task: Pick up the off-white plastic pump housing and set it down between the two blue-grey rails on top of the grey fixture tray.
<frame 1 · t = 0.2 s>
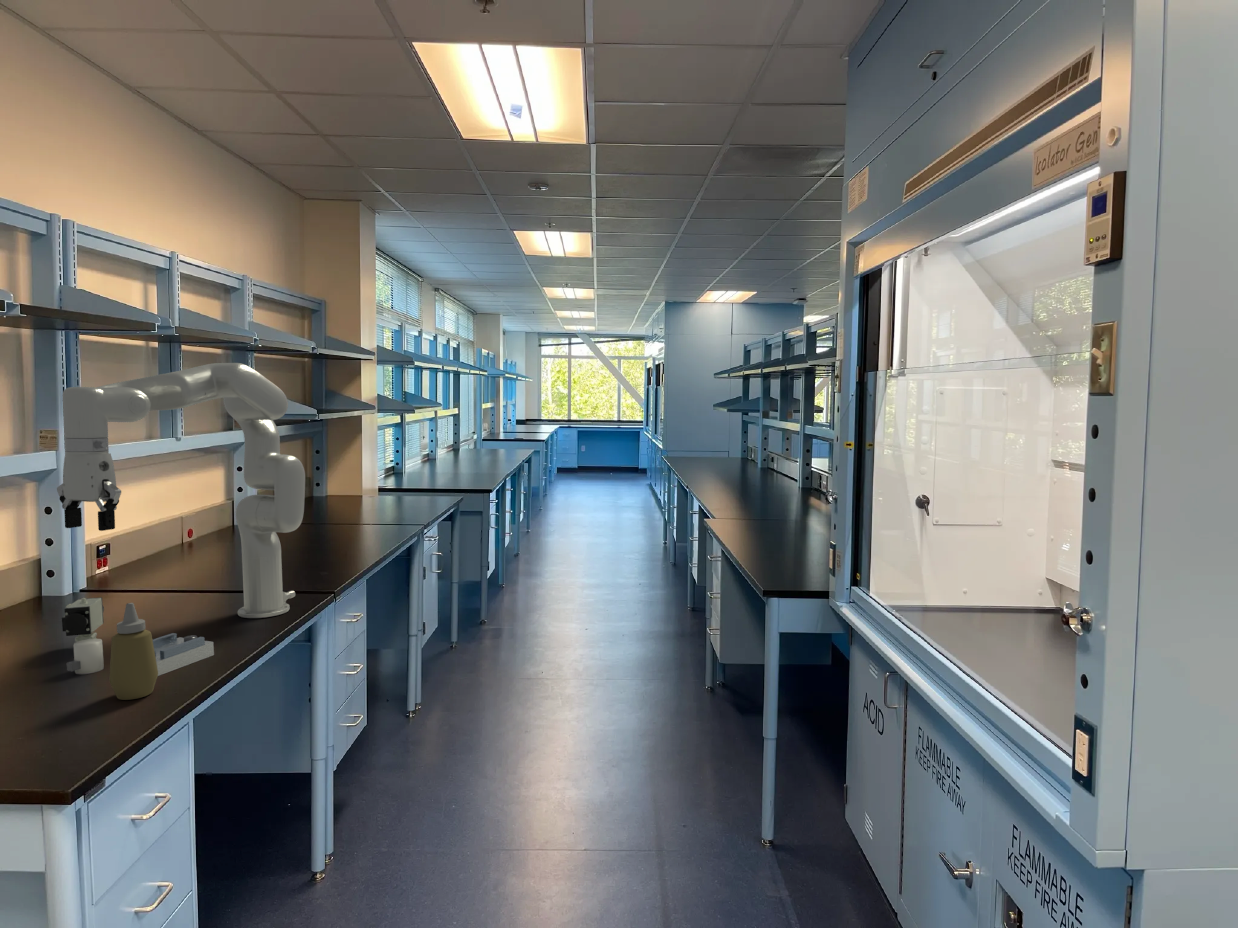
hand: (90, 528, 161), 30 cm above the table, tool pointing down, fingers open, 9 cm apart
drain pump: (89, 669, 163), on the table
grey fixture tray: (169, 662, 168), on the table
squeeze bottle: (135, 695, 149), on the table
pneumatic valve: (84, 650, 176), on the table
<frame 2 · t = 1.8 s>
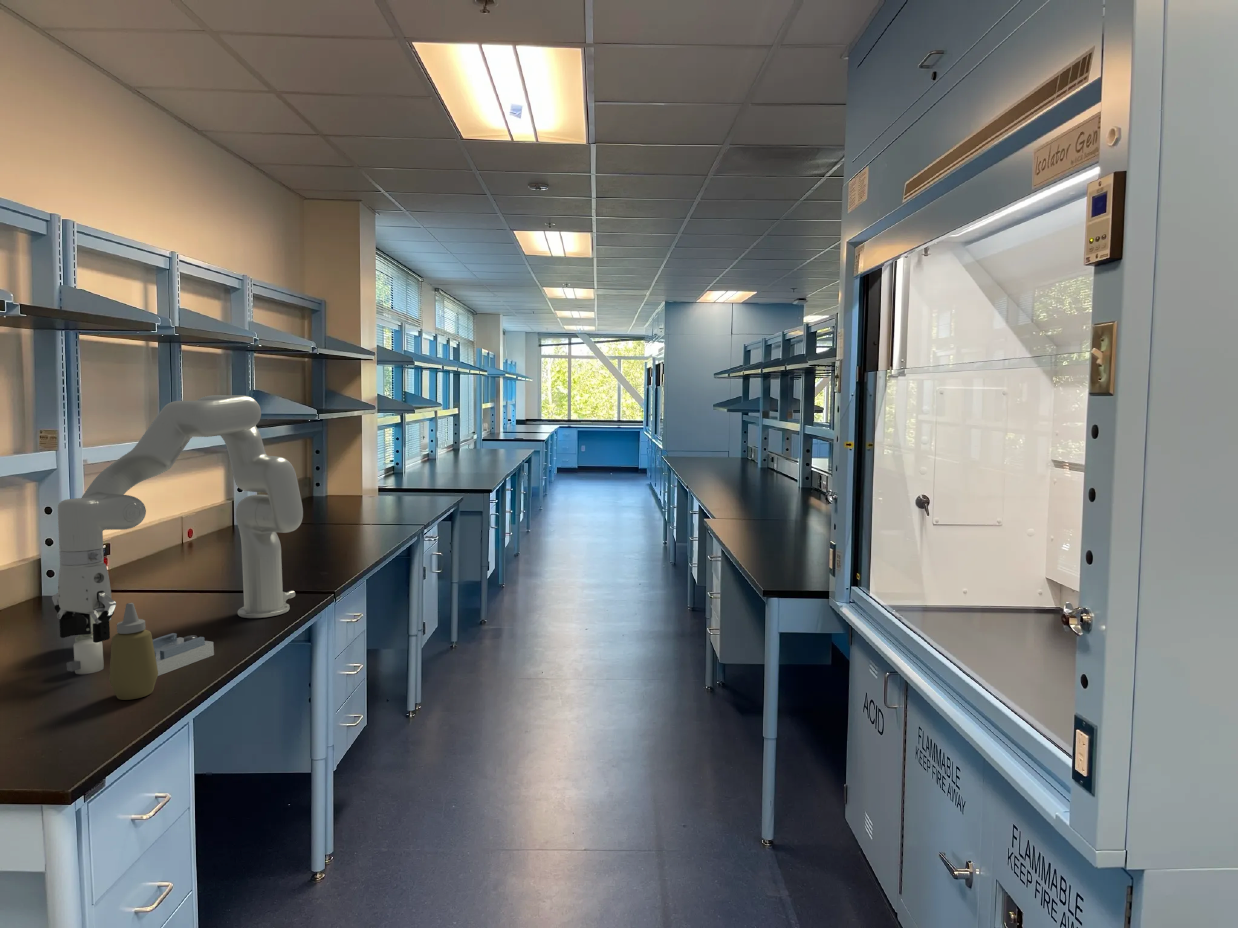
hand: (85, 638, 162), 7 cm above the table, tool pointing down, fingers open, 9 cm apart
nothing on the table moved.
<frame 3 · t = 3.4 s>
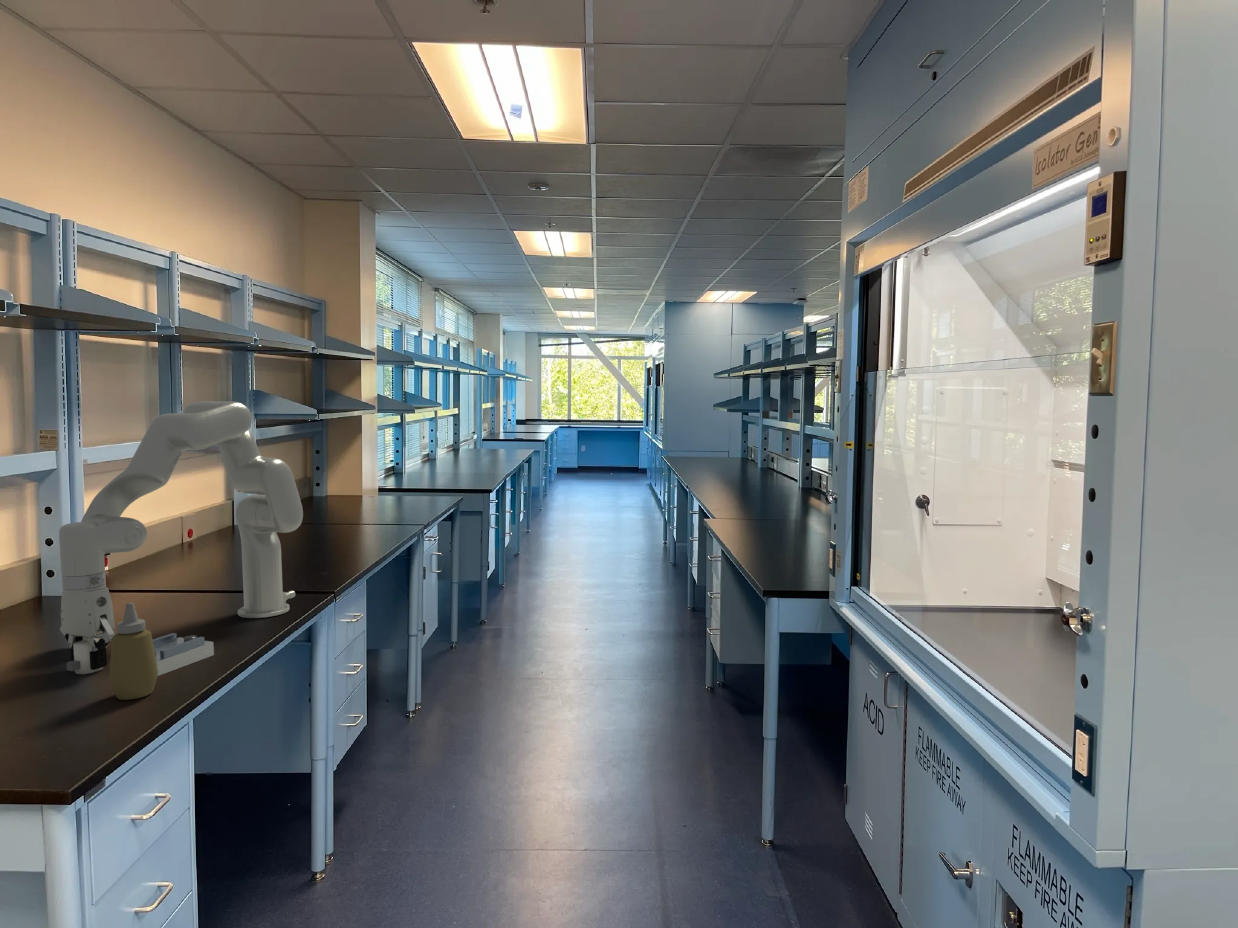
hand: (89, 665, 163), 1 cm above the table, tool pointing down, fingers closed on drain pump, 5 cm apart
drain pump: (89, 669, 163), on the table, touching gripper
everything else where it was.
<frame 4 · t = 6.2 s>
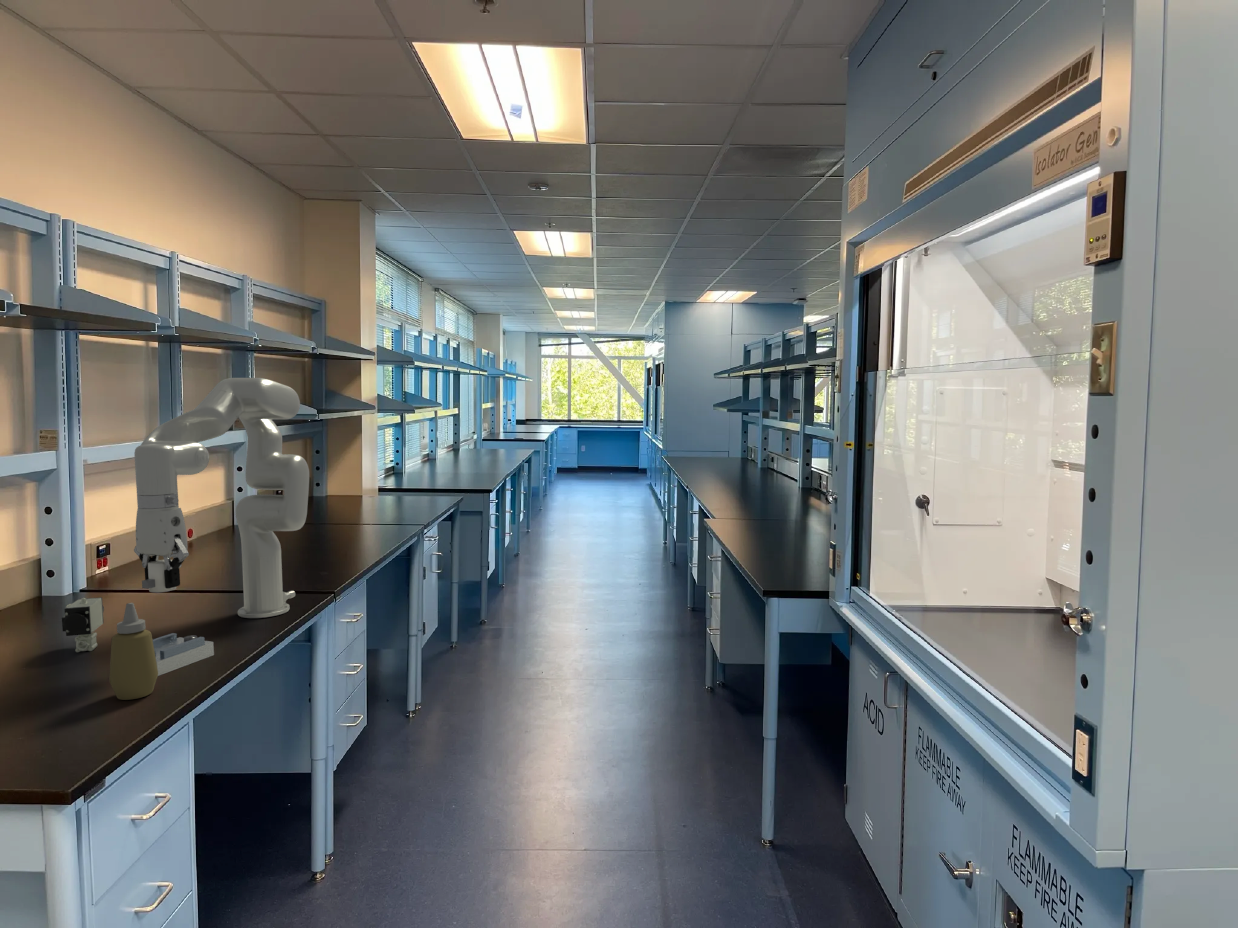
hand: (162, 584, 166), 17 cm above the table, tool pointing down, fingers closed on drain pump, 5 cm apart
drain pump: (162, 589, 166), point 16 cm above the table, touching gripper
everything else where it was.
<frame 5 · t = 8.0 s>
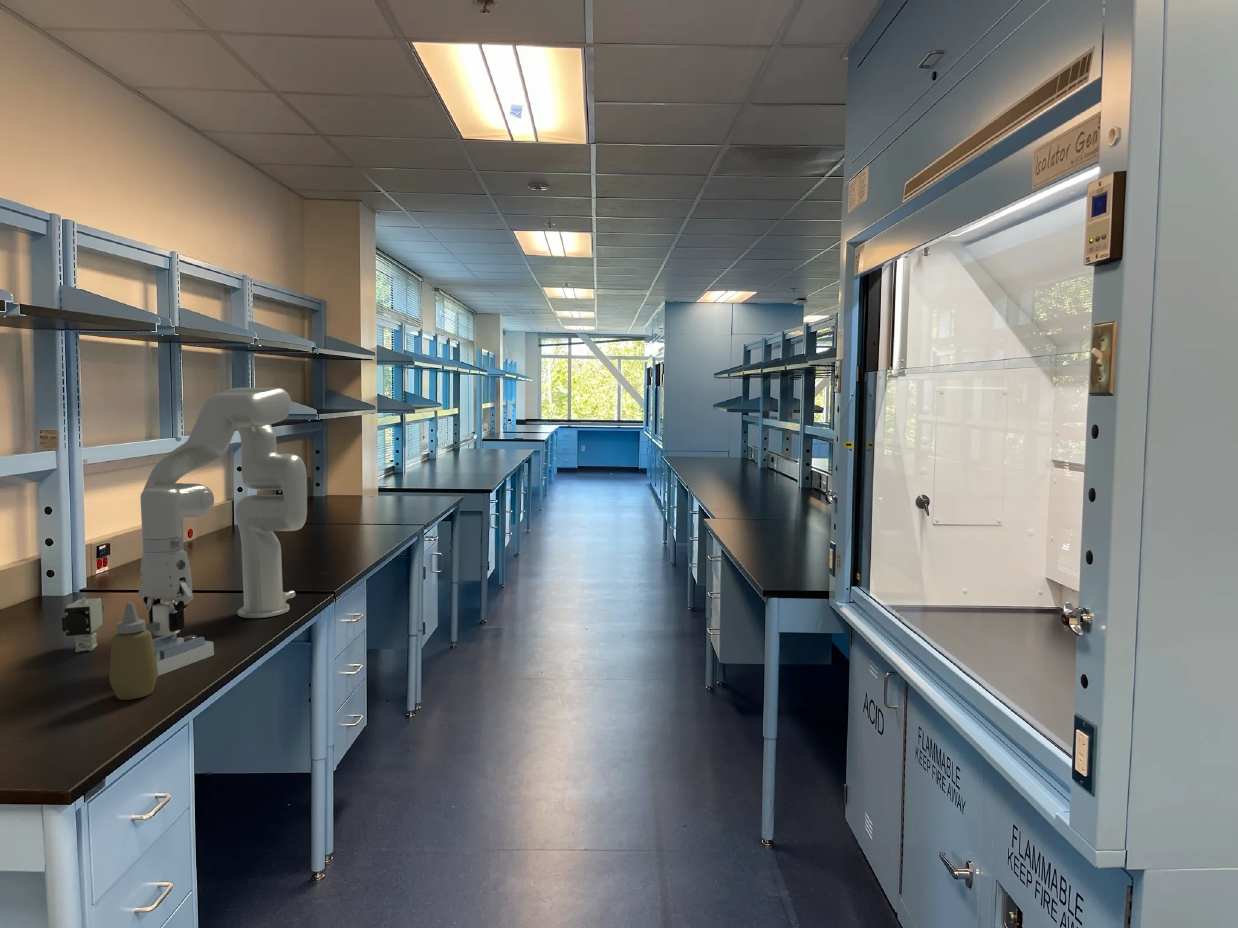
hand: (167, 627, 167), 8 cm above the table, tool pointing down, fingers closed on drain pump, 5 cm apart
drain pump: (167, 632, 167), point 7 cm above the table, touching gripper
everything else where it was.
when the fingers open (5 cm above the table, at t = 9.3 s): drain pump drops 1 cm, resting on grey fixture tray.
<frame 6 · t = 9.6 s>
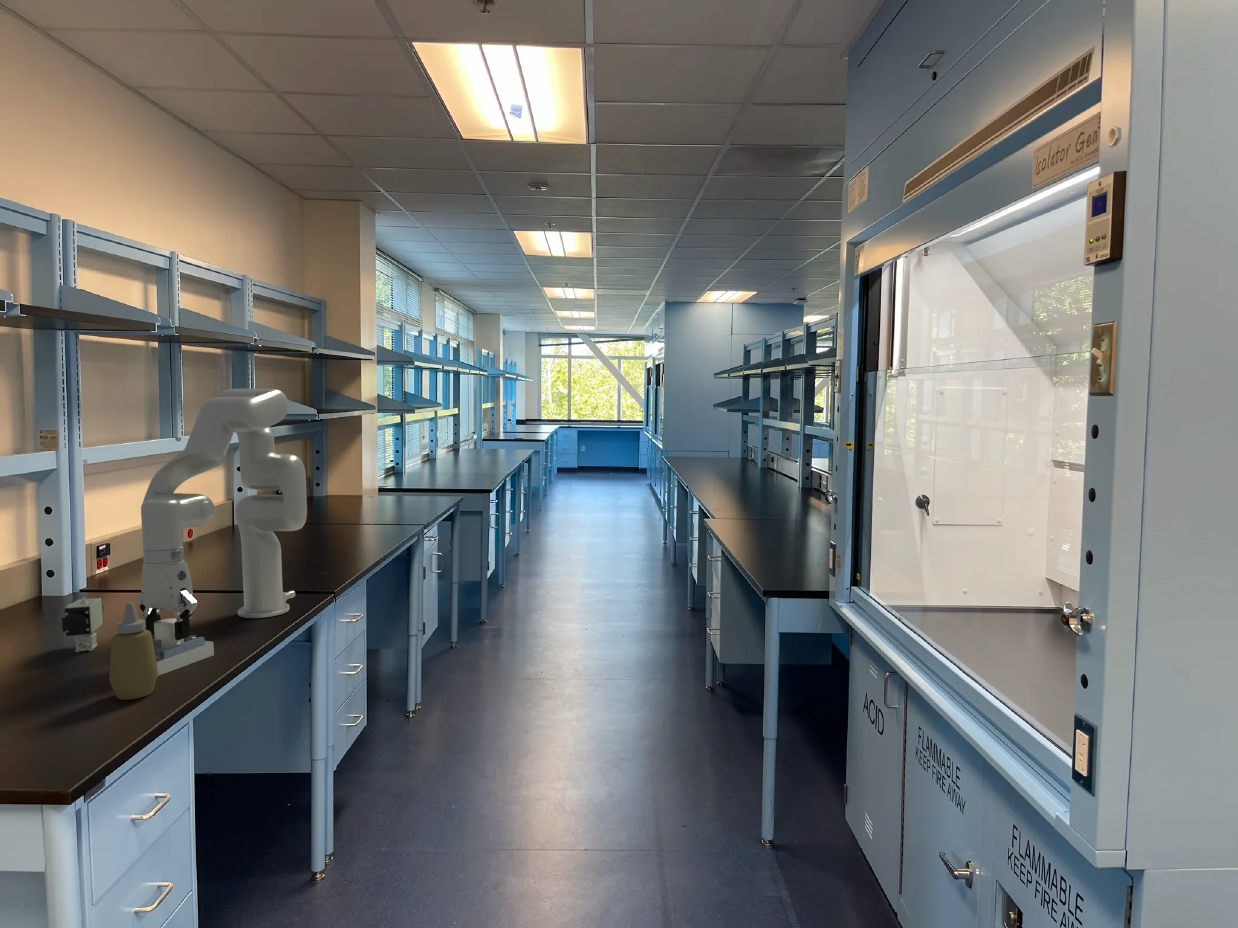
hand: (168, 635, 167), 6 cm above the table, tool pointing down, fingers open, 7 cm apart
drain pump: (168, 648, 167), point 3 cm above the table, touching grey fixture tray
everything else where it was.
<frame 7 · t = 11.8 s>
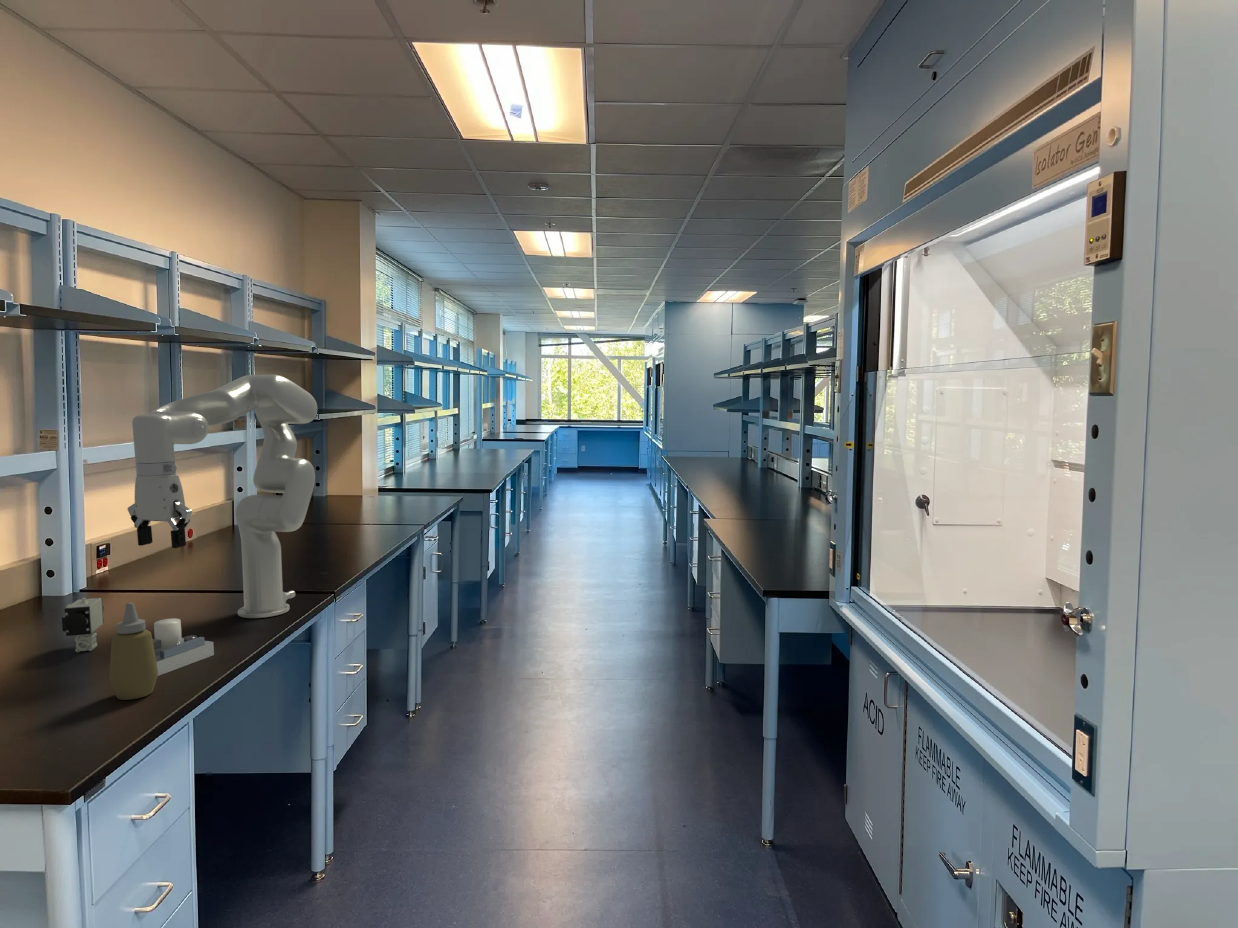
hand: (162, 545, 173), 24 cm above the table, tool pointing down, fingers open, 9 cm apart
nothing on the table moved.
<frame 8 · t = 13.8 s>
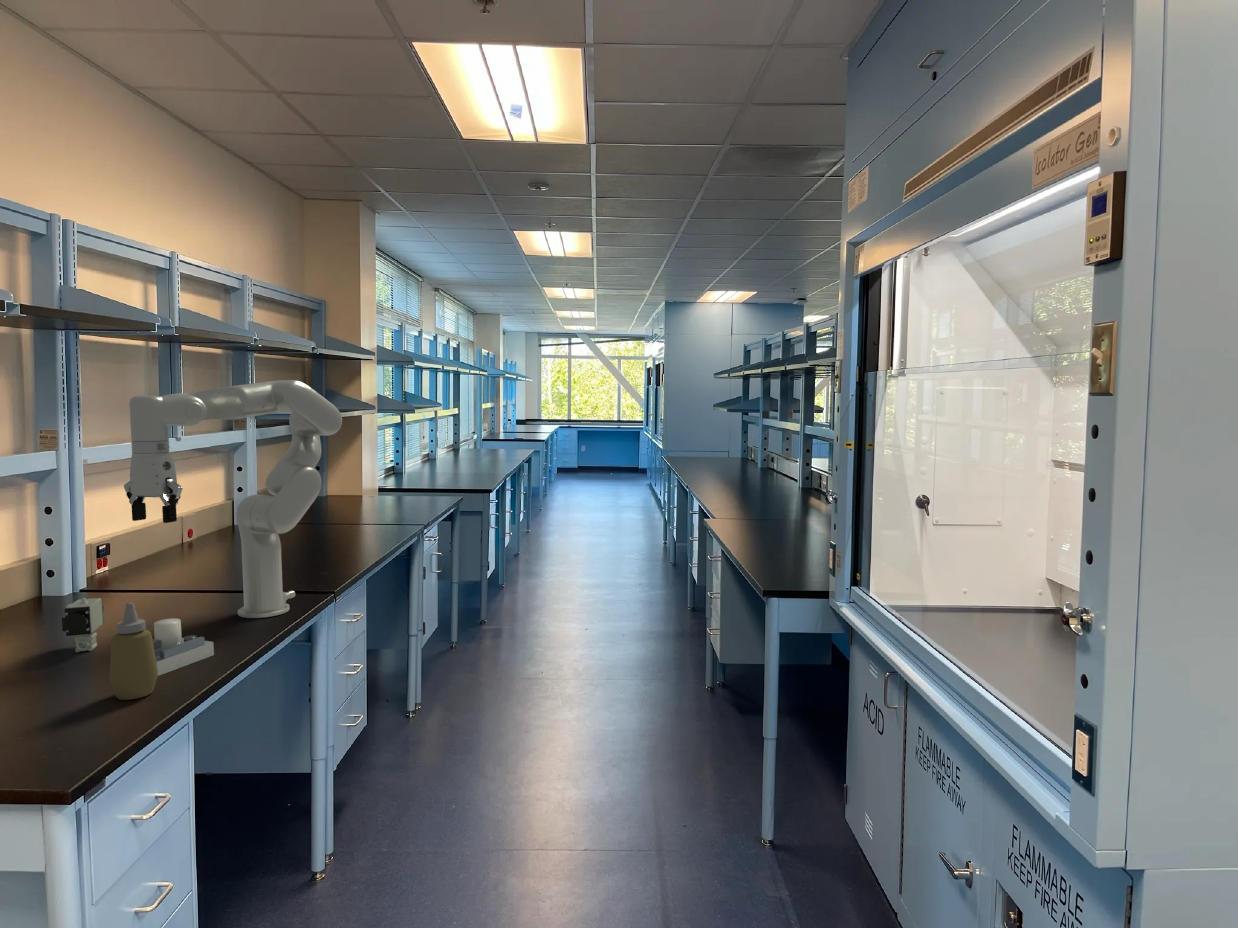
hand: (154, 521, 182), 28 cm above the table, tool pointing down, fingers open, 9 cm apart
nothing on the table moved.
at the end: drain pump inside the target area on the grey fixture tray (0.3 cm from its centre), point 3.0 cm above the grey fixture tray's base; drain pump tilted 0°; drain pump touching grey fixture tray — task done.
